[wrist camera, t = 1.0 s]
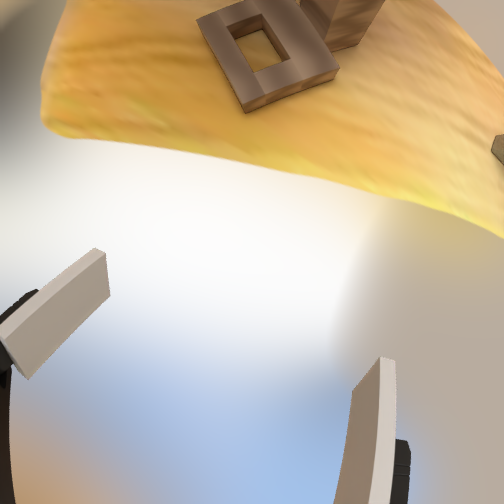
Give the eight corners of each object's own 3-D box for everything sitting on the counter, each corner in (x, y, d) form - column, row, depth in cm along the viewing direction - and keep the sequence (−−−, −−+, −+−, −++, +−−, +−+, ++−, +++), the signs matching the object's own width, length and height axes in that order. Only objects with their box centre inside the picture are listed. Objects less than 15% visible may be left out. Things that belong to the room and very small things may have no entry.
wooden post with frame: (245, 113, 33) (223, 45, 16) (202, 34, 31) (162, -50, 14) (371, 67, 31) (432, -3, 13) (321, -6, 29) (343, -91, 11)
